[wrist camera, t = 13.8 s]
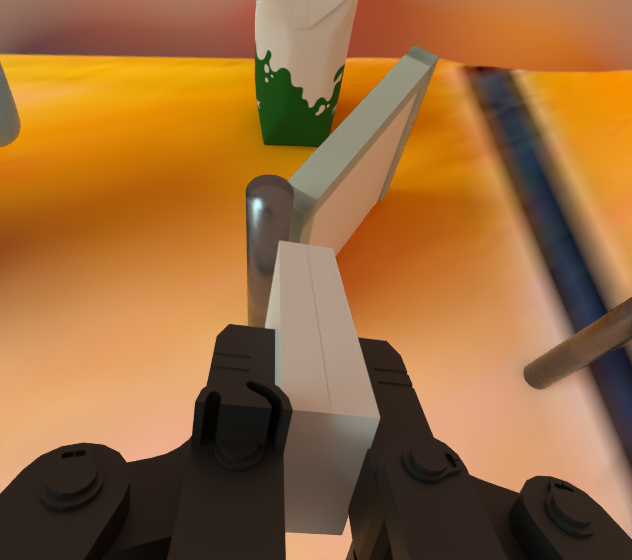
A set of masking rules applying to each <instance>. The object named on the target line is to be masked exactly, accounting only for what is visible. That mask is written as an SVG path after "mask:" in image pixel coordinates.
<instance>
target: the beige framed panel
mask: <svg viewBox="0 0 632 560" xmlns="http://www.w3.org/2000/svg"><path fill="white" fill-rule="evenodd" d="M438 59H439V56H436V55H434V54H432V53H430V52H428V51H426V50H424V49H422V48H420V47H418V46H416V45H414V46H413V47H412V48H411V49H410V50H409V51H408V52H407V53H406V54H405V55H404V56H403V57H402V59H401V60H400V61H399V62H398V63H397V64H396V65H395V66H394V67H393V68H392V69H391V70H390V71H389V72H388V74H387V75H386V76H385V77H384V78H383V79H382V80H381V81H380V82H379V83H378V84H377V85H376V86H375V87H374V89H373V90H372V91H371V92H370V93H369V94H368V95H367V96H366V97H365V98H364V99H363V100H362V101H361V103H360V104H359V105H358V106H357V107H356V108H355V109H354V110H353V111H352V112H351V113H350V114H349V115H348V116H347V118H346V119H345V120H344V121H343V122H342V123H341V124H340V125H339V126H338V127H337V128H336V129H335V130H334V131H333V133H332V134H331V135H330V136H329V137H328V138H327V139H326V140H325V141H324V142H323V143H322V144H321V145H320V146H319V148H318V149H317V150H316V151H315V152H314V153H313V154H312V155H311V156H310V157H309V158H308V159H307V160H306V162H305V163H304V164H303V165H302V166H301V167H300V168H299V169H298V170H297V171H296V172H295V173H294V174H293V175H292V177H291V178H290V179H289V180H288V182H289V183H290V184H291V186H292V187H293V190H294V201H293V209H292V217H291V226H290V234H289V242H293V243H300V244H307V245H314V246H320V247H327V248H333V251H334V254H335V257H336V256H337V254H338V253H339V252H340V250H341V249H342V248H343V246H344V245H345V244H346V242H347V241H348V240H349V238H350V237H351V236H352V234H353V233H354V232H355V230H356V229H357V228H358V226H359V225H360V224H361V222H362V221H363V220H364V218H365V217H366V216H367V214H368V213H369V212H370V210H371V209H372V208H373V206H374V205H375V204H376V202H377V201H378V202H381V200H382V199H383V198H384V196H385V195H386V194H387V191H388V189H389V186H390V184H391V181H392V178H393V176H394V173H395V171H396V168H397V165H398V163H399V160H400V158H401V155H402V152H403V150H404V147H405V145H406V142H407V139H408V137H409V134H410V132H411V129H412V126H413V124H414V121H415V119H416V116H417V113H418V111H419V108H420V106H421V103H422V100H423V98H424V95H425V93H426V90H427V87H428V85H429V82H430V80H431V77H432V74H433V72H434V69H435V67H436V64H437V61H438Z"/></svg>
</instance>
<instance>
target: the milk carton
mask: <svg viewBox="0 0 632 560" xmlns="http://www.w3.org/2000/svg"><path fill="white" fill-rule="evenodd" d="M357 2H358V0H257V2H256V16H255V85H256V99H257V105H258V111H259V117H260V123H261V129H262V135H263V141H264V144H269V145H293V146H316V147H319V146H320V145H321V144H322V143H323V142H324V141H325V140H326V139H327V138H328V136H329V132H330V129H331V125H332V121H333V117H334V114H335V110H336V106H337V102H338V97H339V92H340V87H341V82H342V77H343V72H344V67H345V61H346V56H347V51H348V46H349V41H350V36H351V30H352V25H353V20H354V16H355V11H356V6H357Z"/></svg>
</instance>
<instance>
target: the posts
mask: <svg viewBox="0 0 632 560" xmlns="http://www.w3.org/2000/svg"><path fill="white" fill-rule="evenodd" d="M293 201H294V190H293V187H292V186H291V184H290V183H289V182H288V181H287V180H285V179H284V178H282V177H279V176H276V175H262V176H258V177H256V178H254V179H253V180H252V181H251V182H250V183H249V184H248V186H247V189H246V228H247V293H248V326H251V327H259V328H265V323H266V317H267V311H268V305H269V299H270V293H271V287H272V281H273V275H274V269H275V263H276V257H277V251H278V245H279V240H280V241H287V242H289V234H290V226H291V217H292V209H293ZM630 342H632V297H631V298H630V299H628V300H627V301H625V302H624V303H622V304H620V305H619V306H617V307H616V308H614V309H613V310H611V311H610V312H608V313H607V314H605V315H604V316H602V317H601V318H599V319H597V320H596V321H594V322H593V323H591V324H590V325H588V326H587V327H585V328H584V329H582V330H581V331H579V332H578V333H576V334H574V335H573V336H571V337H570V338H568V339H567V340H565V341H564V342H562V343H561V344H559V345H558V346H556V347H555V348H553V349H551V350H550V351H548V352H547V353H545V354H544V355H542V356H541V357H539V358H538V359H536V360H535V361H533V362H532V363H530V364H528V365H527V366H526V367H525V369H524V377H525V380H526V381H527V383H528V384H529V385H530V386H532V387H533V388H536V389H544V388H546V387H548V386H550V385H552V384H554V383H555V382H557V381H559V380H561V379H563V378H565V377H567V376H569V375H570V374H572V373H574V372H576V371H578V370H580V369H582V368H583V367H585V366H587V365H589V364H591V363H593V362H595V361H597V360H598V359H600V358H602V357H604V356H606V355H608V354H610V353H611V352H613V351H615V350H617V349H619V348H621V347H623V346H625V345H626V344H628V343H630Z"/></svg>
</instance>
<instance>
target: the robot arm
mask: <svg viewBox="0 0 632 560" xmlns="http://www.w3.org/2000/svg"><path fill="white" fill-rule="evenodd" d="M20 127H21V125H20V118H19V115H18V111H17V108H16V105H15V102H14V99H13V96H12V93H11V90H10V87H9V85H8V82H7V79H6V76H5V73H4V71H3V68H2V66H1V63H0V147H3V146H6V145H8V144H10V143H12V142H13V141H14V140H15V139H16V138H17V137H18V135H19V132H20ZM348 515H349V520H350V526H351V533H352V539H353V540H352V543H351V546H350V549H349V552H348V555H347V557H346V560H632V539H631V538H630V537H629V536H628V535H627V534H626V533H625V532H624V530H623V529H622V528H621V527H620V526H619V525H618V524H617V523H616V522H615V521H614V520H613V519H612V518H611V517H610V515H609V514H608V513H607V512H606V511H605V510H604V509H603V508H602V507H601V506H600V505H599V504H598V503H597V502H595V501H594V500H593V499H592V498H591V497H590V496H589V495H588V494H586V493H585V492H584V491H582V490H580V489H579V488H577V487H575V486H573V485H572V484H570V483H568V482H566V481H563V480H560V479H557V478H554V477H551V476H535V477H533V478H531V479H529V480H527V481H526V482H525V484H524V486H523V488H522V490H521V491H520V493H517V492H515V491H512V490H509V489H506V488H503V487H500V486H497V485H494V484H492V483H489V482H486V481H483V480H481V479H478V478H476V477H474V476H471V475H469V472H468V470H467V468H466V466H465V465H464V463H463V462H462V460H461V459H460V457H459V456H458V454H457V453H455V452H454V451H453V450H452V449H451V448H450V447H448V446H447V445H446V444H445V443H443V442H441V441H439V440H437V439H435V438H434V437H433V435H432V432H431V430H430V427H429V425H428V422H427V420H426V417H425V415H424V412H423V410H422V407H421V405H420V402H419V400H418V397H417V395H416V392H415V390H414V388H412V382H411V380H410V377H409V375H407V370H406V368H405V365H404V363H403V360H402V358H401V355H400V354H399V353H398V352H397V351H396V350H395V349H394V348H393V347H392V346H391V345H390V344H389V343H388V342H387V341H382V340H373V339H365V338H358V336H357V333H356V329H355V326H354V322H353V318H352V315H351V311H350V308H349V304H348V301H347V297H346V293H345V290H344V286H343V283H342V279H341V276H340V272H339V268H338V265H337V261H336V258H335V254H334V251H333V248H327V247H320V246H314V245H307V244H300V243H293V242H287V241H280V240H279V245H278V251H277V257H276V263H275V269H274V275H273V281H272V287H271V293H270V299H269V305H268V311H267V317H266V323H265V328H259V327H251V326H243V325H234V324H229V325H228V326H227V327H226V328H225V329H224V330H223V331H222V332H221V333H220V334H219V335H218V336H217V338H216V343H215V348H214V353H213V357H212V362H211V368H210V372H209V377H208V382H207V386H206V387H204V388H203V389H202V390H201V392H200V394H199V396H198V397H197V399H196V401H195V410H194V421H193V431H192V436H191V437H190V439H189V440H188V441H186V442H185V443H184V444H182V445H181V446H180V447H179V448H177V449H175V450H173V451H171V452H169V453H167V454H164V455H160V456H156V457H153V458H148V459H143V460H138V461H133V462H126V461H125V459H124V458H123V457H122V456H121V454H120V453H119V452H117V451H115V450H113V449H111V448H109V447H107V446H105V445H101V444H92V443H79V444H73V445H67V446H62V447H59V448H57V449H55V450H52V451H50V452H48V453H45V454H43V455H41V456H40V457H38V458H37V459H36V460H35V461H33V462H32V463H31V464H30V465H28V466H27V467H26V468H24V469H23V470H22V471H21V472H20V473H19V474H18V475H17V477H16V478H15V479H14V480H13V481H12V482H11V483H10V484H9V485H8V486H7V487H6V488H5V489H4V490H3V491H2V493H1V494H0V560H286V549H285V532H291V533H310V534H329V535H342V533H343V530H344V527H345V524H346V521H347V518H348Z"/></svg>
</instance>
